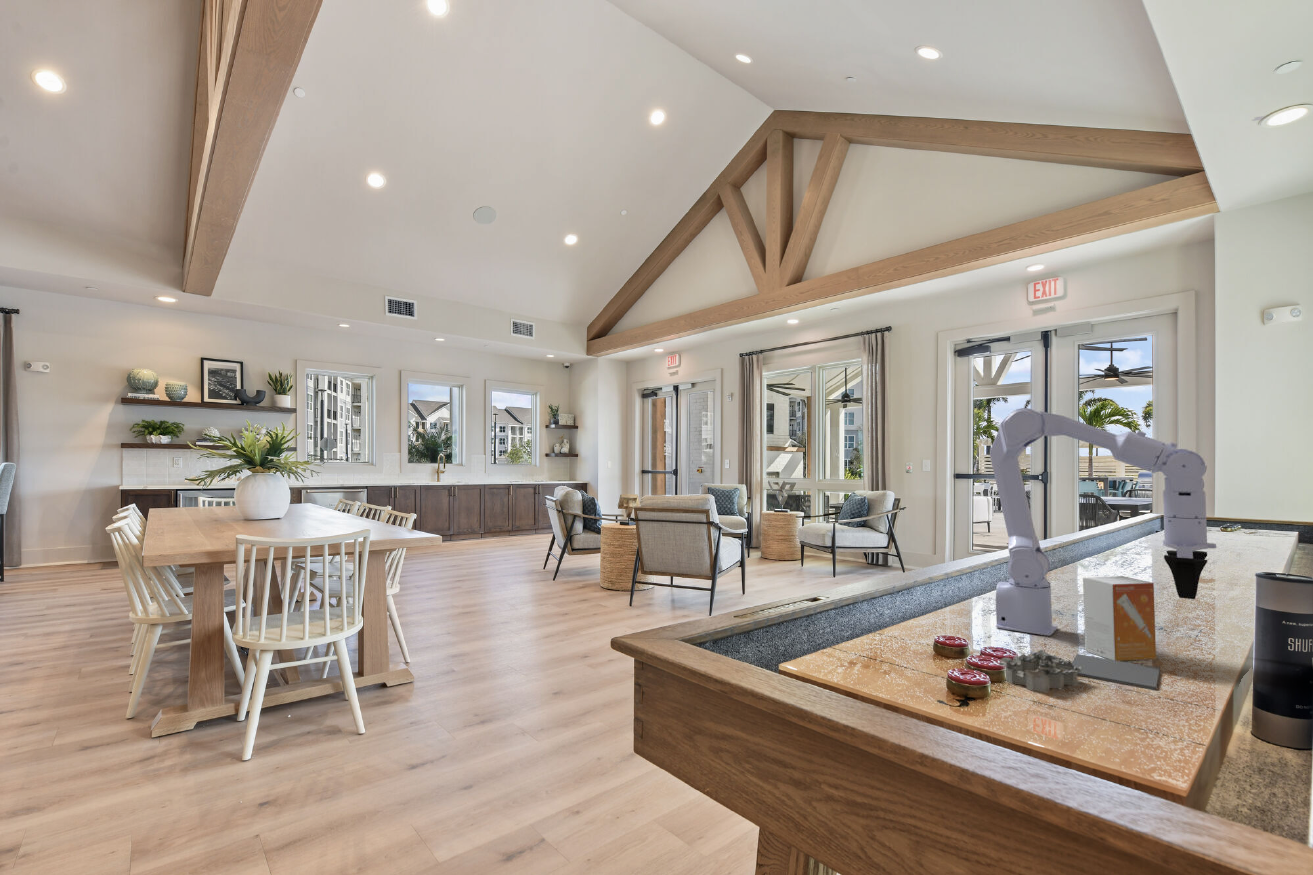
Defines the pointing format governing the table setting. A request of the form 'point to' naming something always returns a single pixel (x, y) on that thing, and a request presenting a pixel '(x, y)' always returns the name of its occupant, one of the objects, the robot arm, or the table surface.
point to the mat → (1117, 671)
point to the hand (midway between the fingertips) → (1187, 594)
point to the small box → (1119, 618)
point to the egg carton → (1040, 671)
